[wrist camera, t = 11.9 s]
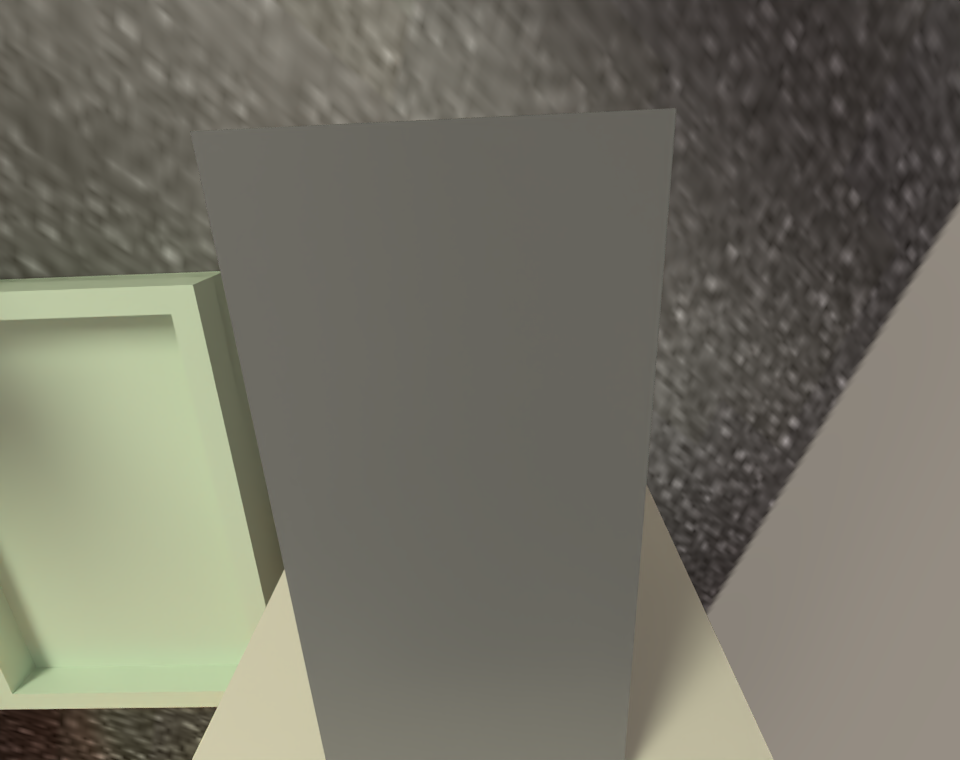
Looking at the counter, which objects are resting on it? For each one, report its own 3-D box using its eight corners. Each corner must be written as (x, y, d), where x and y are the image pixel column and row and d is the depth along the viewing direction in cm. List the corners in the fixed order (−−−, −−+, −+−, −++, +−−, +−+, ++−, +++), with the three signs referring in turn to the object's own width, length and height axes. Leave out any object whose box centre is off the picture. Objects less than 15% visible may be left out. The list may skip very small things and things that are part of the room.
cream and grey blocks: (300, 144, 8) (-323, 141, 2) (641, 129, 8) (1189, 69, 2) (394, 773, 14) (310, 1331, 7) (603, 770, 14) (706, 1339, 7)
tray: (-128, 284, 22) (-200, 299, 20) (224, 271, 22) (192, 284, 20) (37, 666, 30) (-1, 709, 27) (304, 662, 29) (288, 705, 27)
